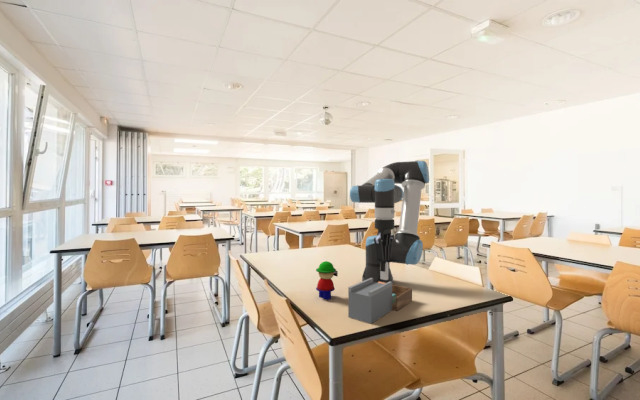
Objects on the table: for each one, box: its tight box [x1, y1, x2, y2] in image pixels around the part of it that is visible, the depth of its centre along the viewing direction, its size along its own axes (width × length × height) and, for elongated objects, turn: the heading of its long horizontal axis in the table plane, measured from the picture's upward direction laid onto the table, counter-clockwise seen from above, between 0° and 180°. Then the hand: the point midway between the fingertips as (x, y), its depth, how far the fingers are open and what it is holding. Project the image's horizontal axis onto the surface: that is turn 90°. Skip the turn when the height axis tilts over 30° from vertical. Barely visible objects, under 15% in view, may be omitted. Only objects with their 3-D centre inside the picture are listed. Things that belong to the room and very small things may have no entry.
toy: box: [315, 260, 338, 301], centre depth 128 cm, size 9×9×15 cm
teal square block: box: [392, 293, 396, 304], centre depth 120 cm, size 5×5×3 cm
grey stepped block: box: [347, 278, 393, 324], centre depth 110 cm, size 9×16×10 cm, turn 141°
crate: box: [391, 284, 413, 312], centre depth 121 cm, size 13×14×5 cm
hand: (384, 279), depth 118 cm, fingers closed
